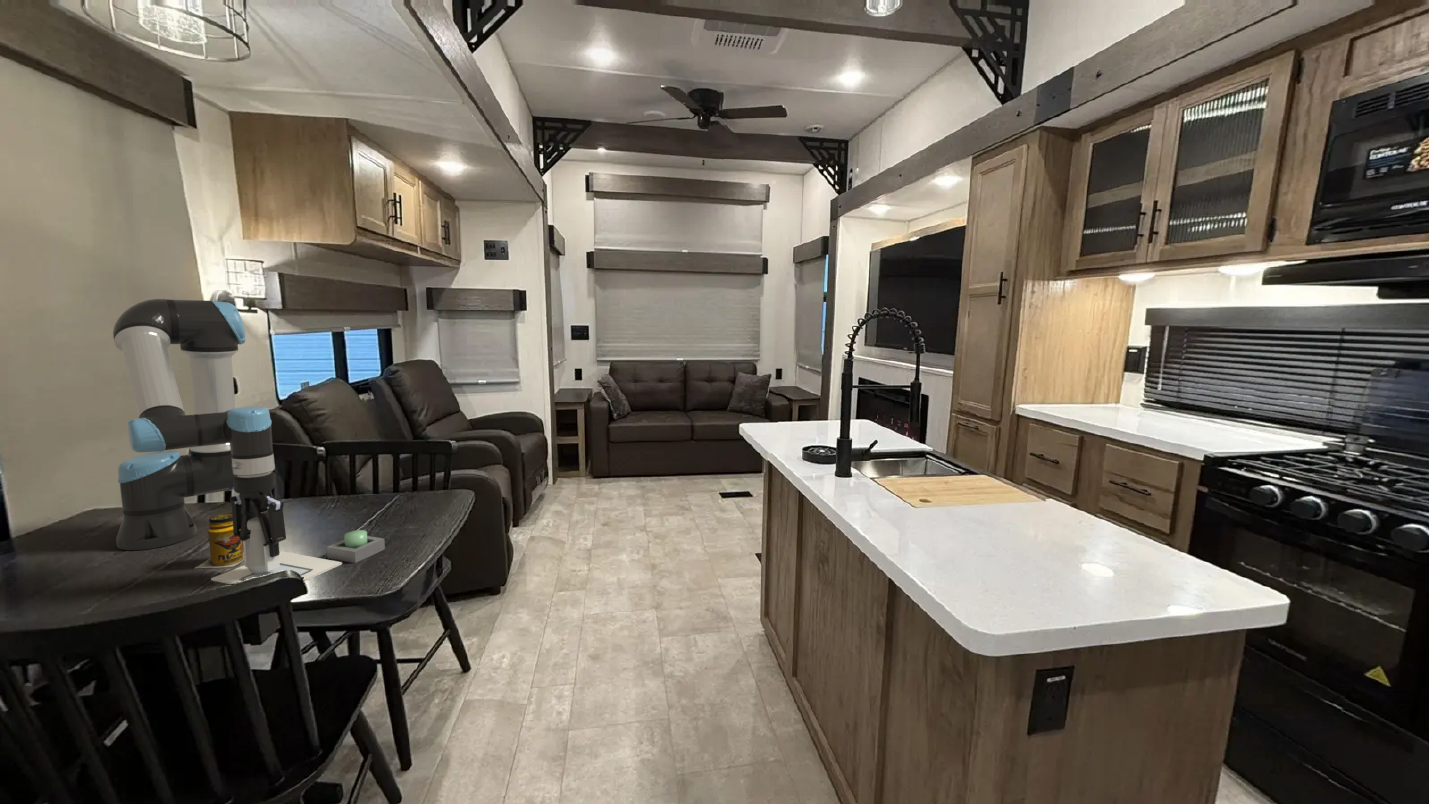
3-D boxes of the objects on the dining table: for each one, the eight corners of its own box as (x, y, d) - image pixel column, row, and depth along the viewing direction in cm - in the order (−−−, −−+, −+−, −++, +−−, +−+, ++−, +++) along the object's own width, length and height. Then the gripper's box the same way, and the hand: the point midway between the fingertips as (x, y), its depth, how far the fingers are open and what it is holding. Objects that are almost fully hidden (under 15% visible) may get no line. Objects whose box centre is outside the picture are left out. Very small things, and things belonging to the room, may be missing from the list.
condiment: (234, 566, 133) (230, 520, 132) (193, 569, 131) (188, 522, 130) (252, 554, 140) (248, 510, 139) (213, 556, 138) (209, 511, 137)
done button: (340, 550, 141) (339, 536, 140) (357, 543, 146) (356, 529, 145) (355, 553, 140) (354, 538, 139) (372, 545, 145) (371, 531, 144)
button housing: (327, 558, 140) (326, 547, 139) (358, 544, 148) (357, 534, 148) (355, 563, 138) (354, 551, 137) (384, 549, 146) (384, 538, 146)
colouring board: (211, 580, 126) (210, 577, 126) (281, 553, 142) (281, 550, 142) (277, 594, 121) (276, 591, 121) (342, 564, 137) (342, 561, 137)
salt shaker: (260, 577, 127) (255, 524, 125) (240, 574, 128) (235, 521, 126) (284, 566, 132) (280, 515, 130) (265, 563, 133) (260, 512, 132)
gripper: (206, 473, 125) (215, 567, 129) (268, 482, 121) (276, 579, 124) (241, 465, 132) (249, 555, 136) (301, 473, 128) (308, 566, 131)
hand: (262, 566), depth 130 cm, fingers closed on salt shaker, 6 cm apart
